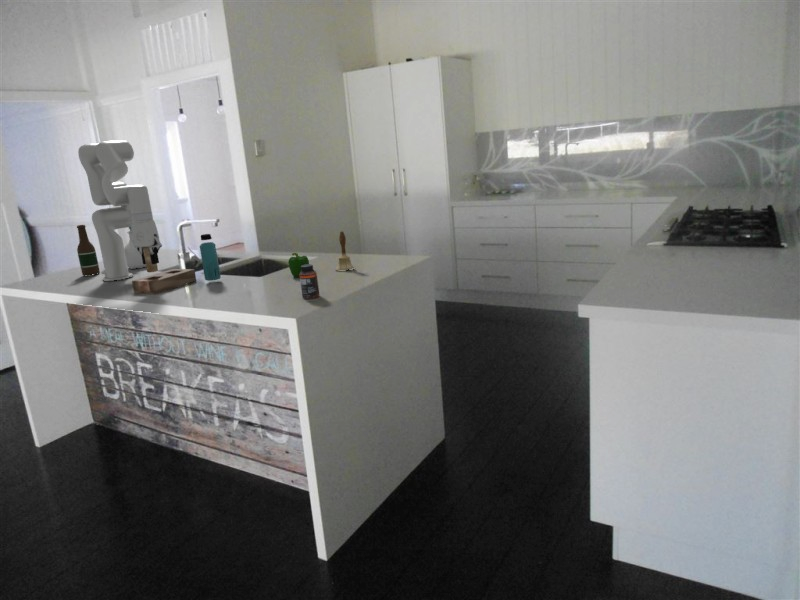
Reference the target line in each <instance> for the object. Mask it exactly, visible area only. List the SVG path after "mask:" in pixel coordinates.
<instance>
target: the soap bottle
mask: <svg viewBox="0 0 800 600" xmlns="http://www.w3.org/2000/svg"><path fill="white" fill-rule="evenodd" d="M126 233H127V234H128V236H129V241H128V242H127V243H126V244H125V246H124V250H125V255H126V260H127V265H128V269H131V270H137V269H136V268H139V269H143V267H145V268H146V264H143V261H142V256H141V255H142V254H140V252H139V251H138V250H137V249H136V248H135V247H134V245H133V240H132V231H131V227H128V230H127V231H126Z"/></svg>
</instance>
